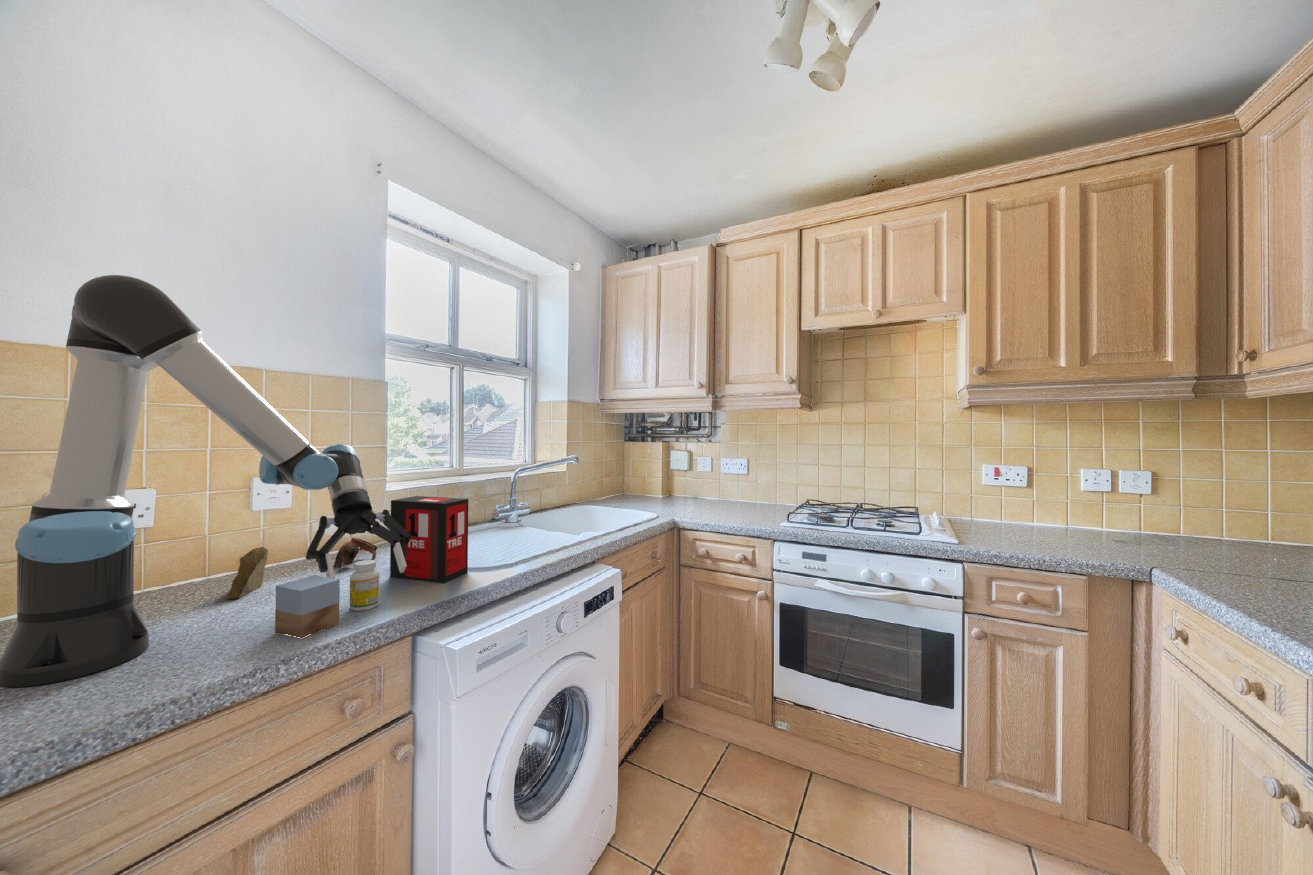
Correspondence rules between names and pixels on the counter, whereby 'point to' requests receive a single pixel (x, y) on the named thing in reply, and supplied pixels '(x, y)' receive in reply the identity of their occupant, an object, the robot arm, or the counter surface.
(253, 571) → the rock
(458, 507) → the cleaning product box
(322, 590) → the slate-blue block
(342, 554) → the pottery mug
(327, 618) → the walnut block
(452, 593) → the counter surface
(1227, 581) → the counter surface
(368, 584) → the supplement bottle
